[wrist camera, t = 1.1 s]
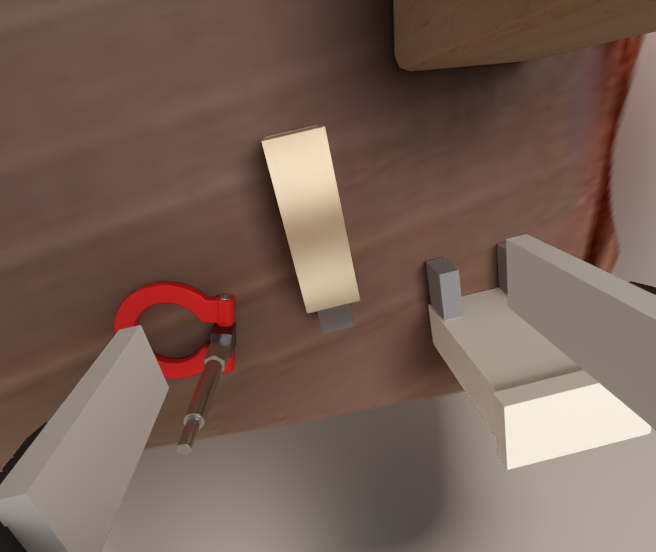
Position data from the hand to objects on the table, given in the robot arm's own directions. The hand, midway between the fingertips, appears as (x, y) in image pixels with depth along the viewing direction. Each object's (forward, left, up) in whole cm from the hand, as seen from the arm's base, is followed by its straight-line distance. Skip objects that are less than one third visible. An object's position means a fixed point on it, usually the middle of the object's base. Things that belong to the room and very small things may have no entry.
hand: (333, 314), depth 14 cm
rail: (+1, 0, -17) cm, 17 cm away
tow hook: (+7, -12, -17) cm, 22 cm away
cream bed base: (+10, +12, -17) cm, 23 cm away
